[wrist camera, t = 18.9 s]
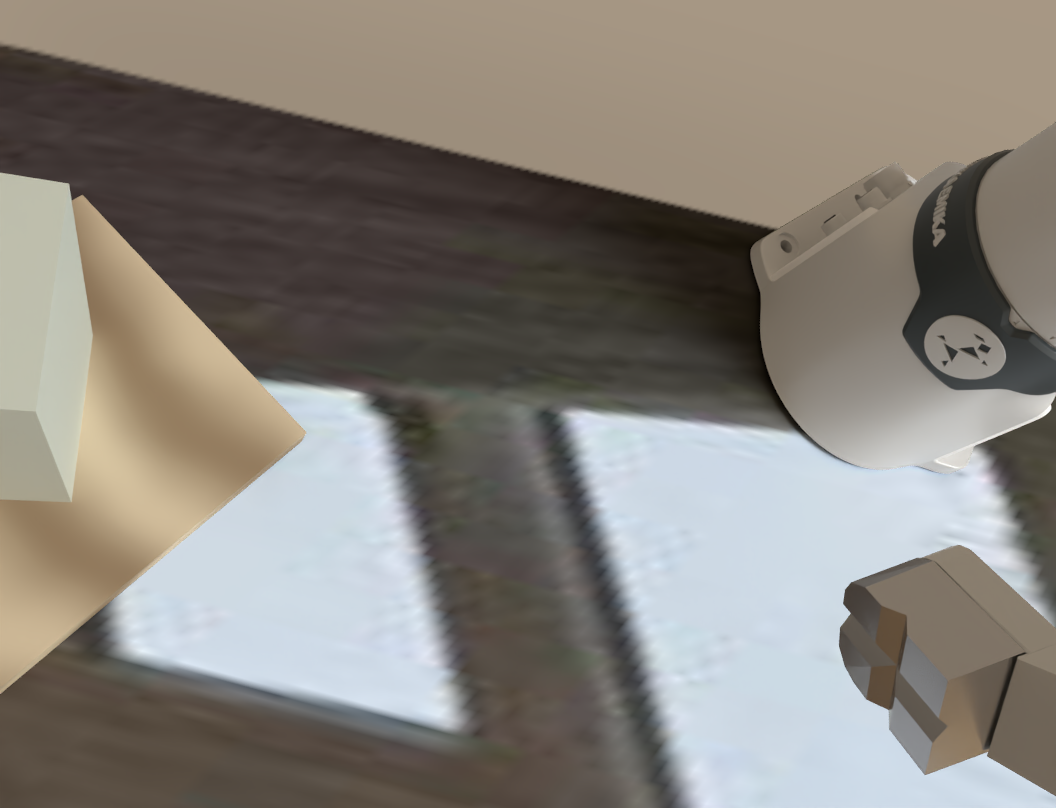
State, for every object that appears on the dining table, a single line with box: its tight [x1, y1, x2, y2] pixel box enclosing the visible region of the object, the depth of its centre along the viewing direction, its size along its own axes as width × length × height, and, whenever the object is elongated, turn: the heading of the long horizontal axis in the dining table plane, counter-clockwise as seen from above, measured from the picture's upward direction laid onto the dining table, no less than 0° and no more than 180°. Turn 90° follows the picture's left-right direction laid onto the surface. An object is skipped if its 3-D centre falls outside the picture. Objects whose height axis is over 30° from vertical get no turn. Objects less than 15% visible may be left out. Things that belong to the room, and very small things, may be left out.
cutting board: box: [0, 195, 306, 694], centre depth 34 cm, size 18×14×2 cm
